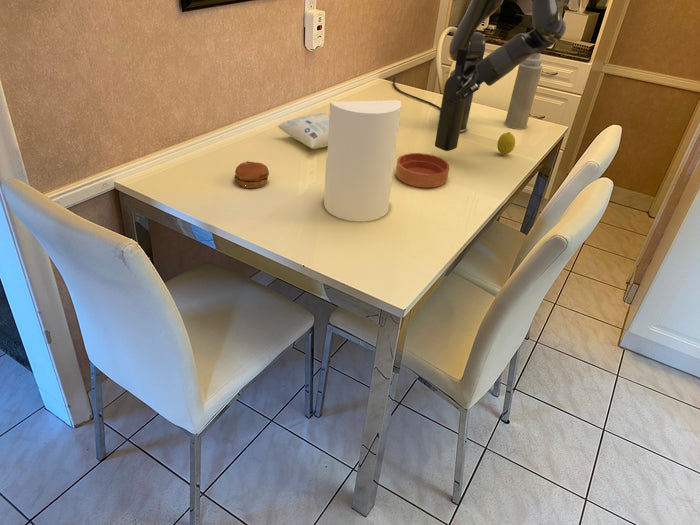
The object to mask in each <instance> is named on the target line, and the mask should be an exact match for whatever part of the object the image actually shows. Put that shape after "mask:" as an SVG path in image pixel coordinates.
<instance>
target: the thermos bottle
mask: <svg viewBox="0 0 700 525" xmlns="http://www.w3.org/2000/svg"><path fill="white" fill-rule="evenodd" d="M542 51H543V50H542ZM542 51H540V52H538V53H536V54H533V55H531V56H530V57H529V58H527V59H526V60H525V61H523V62H522V63H520V64H519V65H518V69H517V73H516V76H515V80H514V85H513V89H512V93H511V97H510V102H509V106H508V109H507V114H506V117H505V122H504V125H505V126H506V127H508V128H511V129H516V130H523V129H526V128H527V125H528V121H529V118H530V113H531V110H532V107H533V102H534V99H535V95H536V91H537V87H538V84H539V81H540V77H541V72H542V69H543V66H542V65H541V64H542V62H543V61H542V58H541V54H542Z"/></svg>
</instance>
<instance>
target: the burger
mask: <svg viewBox="0 0 700 525" xmlns="http://www.w3.org/2000/svg"><path fill="white" fill-rule="evenodd" d="M234 173H235V175H234V180H235V182H236V183H237V184H238V185H239V186H241V187H242V188H247V189H257V188H262V187H264V186H265V185H266V184H267V182H268V178H269V176H270V172H269V169H268V167H267V165H265V164H264V163H262V162H255V161H245V162H240V163H239V164H238V165H237V166H236V167H235V171H234ZM245 185H246V186H245Z"/></svg>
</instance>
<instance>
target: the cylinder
mask: <svg viewBox="0 0 700 525" xmlns="http://www.w3.org/2000/svg"><path fill="white" fill-rule="evenodd" d="M401 111H402V102H401V100H399V99H396V100H395V99H393V100H355V101H352V100H350V101H329V113H328V115H329V133H328V146H327V152H326V155H325V172H324V174H325V175H324V193H323V196H324V198H323V205H324V208H325V210H326V211H327V213H329V214H331V215H332V216H333V217H336V218H338V219H341V220H345V221H350V222H357V223H358V222H359V223H360V222H371V221H376V220H378V219H381V218H382V217H384V216H385V215H386V214H387V213H388V211H389V207H390V206H389V205H390V198H391V191H392V184H393V183H392V181H393V174H394V167H395V166H394V165H395V158H396V150H397V141H398V133H399V127H400V118H401Z"/></svg>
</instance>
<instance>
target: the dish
mask: <svg viewBox="0 0 700 525" xmlns="http://www.w3.org/2000/svg"><path fill="white" fill-rule="evenodd" d="M449 172H450V164H449V163H448V161H446V160H445V159H443V158H442V157H439V156H436V155H434V154H429V153H424V152H423V153H422V152H410V153H404V154H402V155H400V156H399V157H398V158H397V159H396V166H395V176H396V178H397V179H398V180H399V181H401V182H403V183H405V184H407V185H410V186H413V187H418V188H436V187H440V186H442V185H444V184H446V183H447V181H448V178H449Z"/></svg>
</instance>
